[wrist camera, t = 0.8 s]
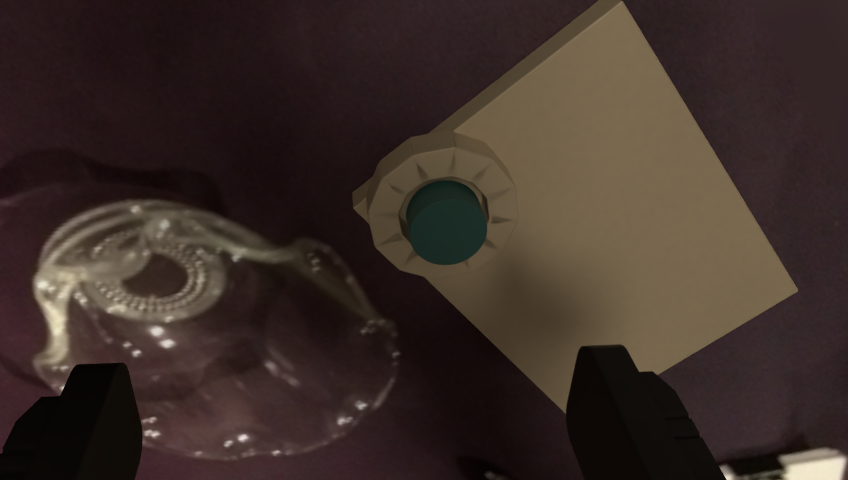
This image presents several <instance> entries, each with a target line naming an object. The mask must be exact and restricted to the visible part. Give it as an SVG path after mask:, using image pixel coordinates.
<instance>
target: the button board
mask: <svg viewBox="0 0 848 480" xmlns="http://www.w3.org/2000/svg"><path fill="white" fill-rule="evenodd" d="M442 180H450V181H456V182H459V183H462V184H464V185H466V186H467V187H469V188H470V189H471V190H472V191H473V192H474V193H475V194H476V196H477V198H478V200H479V202H480V205H481V208H482V211H483V213H484V216H485V219H486V222H487V235H486V238H485V241H484V243H483V245H482V246H481V248H480V249H479V250H478V251H477V252H476V253H475V254H474V255H473V256H472V257H470V258H469V259H467V260H465V261H463V262H460V263H457V264H453V265H438V264H433V263H430V262H428V261H426V260H424V259H423V258H421V257H420V256H419V255H418V254H417V253H416V252H415V251H414V249H413V247H412V245H411V242H410V238H409V232H408V227H407V221H406V210H407V206H408V204H409V202H410V200H411V198H412V197H413V196H414V194H415V193H416V192H417V191H418V190H420V189H421V188H422V187H424V186H426V185H428V184H430V183H433V182H436V181H442ZM352 197H353V209H354V210H355V211H356V212H357V213H358V214H359V215H360V216H361V217H362V218H363V219H365V220H366V221H367V222H368V223H369V224H370V229H371V233H372V238H373V242H374V245H375V248H376V249H377V250H379V251H380V252H381V253H382V254H383V255H384V256H385V257H386V258H387V259H388V260H389V261H390V262H391V263H392V264H393V265H394V266H395V267H397V268H398V269H399V270H401V271H404V272H408V273H412V274H416V275H420V276H423V277H425V278H426V279H427V280H428V281H429V282H430V283H431V284H432V285H433V286H434V287H435V288H436V289H437V290H438V291H439V292H440V293H441V294H442V295H443V296H444V297H445V298H446V299H447V300H448V301H449V302H450V303H452V304H453V305H454V306H455V307H456V308H457V309H458V310H459V311H460V312H461V313H462V314H463V315H464V316H465V317H466V318H467V319H468V320H469V321H470V322H471V323H472V324H473V325H474V326H475V327H476V328H477V329H478V330H479V331H481V332H482V333H483V334H484V335H485V336H486V337H487V338H488V339H489V340H490V341H491V342H492V343H493V344H494V345H495V346H496V347H497V348H498V349H499V350H500V351H501V352H502V353H503V354H504V355H505V356H506V357H507V358H508V359H510V360H511V361H512V362H513V363H514V364H515V365H516V366H517V367H518V368H519V369H520V370H521V371H522V372H523V373H524V374H525V375H526V376H527V377H528V378H529V379H530V380H531V381H532V382H533V383H534V384H535V385H536V386H537V387H539V388H540V389H541V390H542V391H543V392H544V393H545V394H546V395H547V396H548V397H549V398H550V399H551V400H552V401H553V402H554V403H555V404H556V405H557V406H558V407H559V408H560V409H561V410H562V411H563V412H564V413H565V414H566V406H567V400H568V396H569V391H570V386H571V381H572V377H573V372H574V367H575V363H576V358H577V354H578V351H579V349H580V347H581V346H590V345H615V344H621V345H623V346H625V348H626V349H627V350H628V352H629V354H630V356H631V358H632V360H633V361H634V363H635V365H636V367H637V369H638V371H639V372H646V371H653V372H654V373H655V374H656V375H658V374H660V373H661V372H663V371H665V370H666V369H668V368H670V367H671V366H673V365H675V364H676V363H678V362H680V361H682V360H683V359H685V358H687V357H688V356H690V355H692V354H693V353H695V352H697V351H698V350H700V349H702V348H703V347H705V346H707V345H708V344H710V343H712V342H713V341H715V340H717V339H718V338H720V337H722V336H724V335H725V334H727V333H729V332H730V331H732V330H734V329H735V328H737V327H739V326H740V325H742V324H744V323H745V322H747V321H749V320H750V319H752V318H754V317H755V316H757V315H759V314H760V313H762V312H764V311H765V310H767V309H769V308H771V307H772V306H774V305H776V304H777V303H779V302H781V301H782V300H784V299H786V298H787V297H789V296H791V295H792V294H794V293H796V292H797V291H798V289H797V287H796V286H795V284H794V282H793V281H792V279H791V277H790V276H789V274H788V273H787V271H786V269H785V268H784V266H783V264H782V263H781V261H780V259H779V258H778V256H777V254H776V253H775V251H774V249H773V248H772V246H771V245H770V243H769V241H768V240H767V238H766V236H765V235H764V233H763V231H762V230H761V228H760V226H759V225H758V223H757V221H756V220H755V218H754V217H753V215H752V213H751V212H750V210H749V208H748V207H747V205H746V203H745V202H744V200H743V198H742V197H741V195H740V193H739V192H738V190H737V189H736V187H735V185H734V184H733V182H732V180H731V179H730V177H729V175H728V174H727V172H726V170H725V169H724V167H723V165H722V164H721V162H720V161H719V159H718V157H717V156H716V154H715V152H714V151H713V149H712V147H711V146H710V144H709V142H708V141H707V139H706V137H705V136H704V134H703V133H702V131H701V129H700V128H699V126H698V124H697V123H696V121H695V119H694V118H693V116H692V114H691V113H690V111H689V109H688V108H687V106H686V105H685V103H684V101H683V100H682V98H681V96H680V95H679V93H678V91H677V90H676V88H675V86H674V85H673V83H672V82H671V80H670V78H669V77H668V75H667V73H666V72H665V70H664V68H663V67H662V65H661V63H660V62H659V60H658V58H657V57H656V55H655V54H654V52H653V50H652V49H651V47H650V45H649V44H648V42H647V40H646V39H645V37H644V35H643V34H642V32H641V30H640V29H639V27H638V26H637V24H636V22H635V21H634V19H633V17H632V16H631V14H630V12H629V11H628V9H627V7H626V6H625V4H624V2H623V1H621V0H599V1H598V2H596V3H595V4H594V5H593V6H591V7H590V8H589V9H587V10H586V11H585V12H584V13H582V14H581V15H580V16H578V17H577V18H576V19H575V20H573V21H572V22H571V23H569V24H568V25H567V26H566V27H564V28H563V29H562V30H560V31H559V32H558V33H557V34H555V35H554V36H553V37H551V38H550V39H549V40H548V41H546V42H545V43H544V44H542V45H541V46H540V47H539V48H537V49H536V50H535V51H533V52H532V53H531V54H530V55H528V56H527V57H526V58H524V59H523V60H522V61H521V62H519V63H518V64H517V65H515V66H514V67H513V68H512V69H510V70H509V71H508V72H506V73H505V74H504V75H503V76H501V77H500V78H499V79H497V80H496V81H495V82H494V83H492V84H491V85H490V86H488V87H487V88H486V89H485V90H483V91H482V92H481V93H479V94H478V95H477V96H476V97H474V98H473V99H472V100H470V101H469V102H468V103H467V104H465V105H464V106H463V107H461V108H460V109H459V110H458V111H456V112H455V113H454V114H452V115H451V116H450V117H449V118H447V119H446V120H445V121H443V122H442V123H441V124H440V125H438V126H437V127H436V128H434V129H433V130H432V131H431V132H429V133H428V134H425V135H419V136H414V137H410V139H407V140H406V141H405V142H403V143H402V144H401V145H400V146H398V147H397V148H396V149H395V150H393V151H392V152H391V153H389V154H388V155H387V156H386V157H384V158H383V159H382V160H380V163H378V165H377V167H376V170H375V172H374V175H373V177H371V178H370V179H369V180H368V181H366V182H365V183H364V184H362V185H361V186H360V187H359V188H357V189H356V190H355V191H353V193H352Z"/></svg>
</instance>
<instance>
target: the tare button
mask: <svg viewBox="0 0 848 480" xmlns="http://www.w3.org/2000/svg"><path fill="white" fill-rule="evenodd" d="M406 221H407V227H408V232H409V238H410V242H411V245H412V247H413V249H414V251H415V252H416V253H417V254H418V255H419V256H420V257H421V258H423V259H424V260H426V261H428V262H430V263H433V264H438V265H453V264H457V263H460V262H463V261H465V260H467V259H469V258H470V257H472V256H473V255H474V254H475V253H476V252H477V251H478V250H479V249H480V248H481V246H482V245H483V243H484V241H485V238H486V235H487V222H486V219H485V216H484V213H483V211H482V208H481V205H480V202H479V200H478V198H477V196H476V194H475V193H474V192H473V191H472V190H471V189H470V188H469V187H467V186H466V185H464V184H462V183H459V182H456V181H450V180H442V181H436V182H433V183H430V184H428V185H426V186H424V187H422V188H421V189H420V190H418V191H417V192H416V193H415V194H414V196H413V197H412V198H411V200H410V202H409V204H408V206H407V210H406Z"/></svg>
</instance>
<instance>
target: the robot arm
mask: <svg viewBox="0 0 848 480" xmlns="http://www.w3.org/2000/svg"><path fill="white" fill-rule="evenodd" d="M566 424H567V431H568V435H569V439H570V442H571V444H572V447H573V450H574V453H575V455H576V458H577V461H578V463H579V466H580V469H581V471H582V474H583V477H584V480H726V478H725V476H724V475H723V473H722V471H721V469H720V468H719V466H718V464H717V463H716V461H715V459H714V457H713V456H712V454H711V452H710V450H709V449H708V447H707V445H706V443H705V442H704V440H703V438H700V436H699V431H698V430H697V428H696V426H695V424H694V423H693V421H692V419H689V417H688V412H687V411H686V409H685V407H684V405H683V404H682V402H681V400H680V398H679V397H678V395H677V393H676V392H675V390H674V389H672V388H671V387H670V386H669V385H668V384H667V383H666V382H664V381H663V380H662V379H661V378H660V377H659V376H658V375H656V374H655V373H654V372H653V371H646V372H639V371H638V369H637V367H636V365H635V363H634V361H633V360H632V358H631V356H630V354H629V352H628V350H627V349H626V348H625V346H623V345H621V344H615V345H590V346H581V347H580V349H579V351H578V354H577V358H576V363H575V367H574V372H573V377H572V381H571V386H570V391H569V396H568V400H567V406H566ZM141 452H142V426H141V421H140V417H139V413H138V409H137V404H136V400H135V396H134V392H133V388H132V384H131V379H130V375H129V371H128V368H127V366H126V365H125V364H124V363H101V364H78V365H76V366H75V367H74V368H73V370H72V371H71V373H70V376H69V378H68V380H67V382H66V384H65V387H64V389H63V391H62V393H61V395H60V396H53V397H41V398H40V399H39V400H38V401H37V402H36V403H35V404H34V405H33V406H32V407H31V408H30V409H28V410H27V411H26V412H25V413H24V414H23V415H22V416H21V417H20V418H19V419H18V420H17V421H16V423H15V425H14V427H13V429H12V431H11V433H10V435H9V437H8V439H7V441H6V443H5V445H4V447H3V453H2V454H0V480H135V477H136V473H137V470H138V466H139V463H140V458H141Z"/></svg>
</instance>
